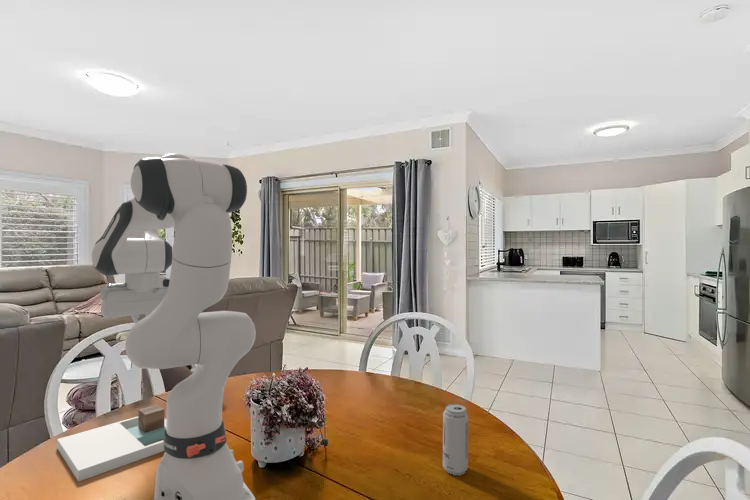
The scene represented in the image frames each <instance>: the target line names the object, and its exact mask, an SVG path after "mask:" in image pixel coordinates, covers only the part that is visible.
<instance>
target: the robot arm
mask: <svg viewBox="0 0 750 500" xmlns="http://www.w3.org/2000/svg"><path fill="white" fill-rule="evenodd" d="M130 188H131V191H132V195H133V196H134V197H133V198H131V199H130V200H127V201H124V202H122V203H121V205H120V206H119V207H118V208H117V210H116V211H115V213H114V215H113V216H112V218H111V220H110V222H109V224H108V225H107V227H106V229H105V230H104V232H103V234H102V235H101V237H100V238H99V239H98V240H97V241H96V242H95V244H94V246H93V249H92V252H91V263H92V266H93V268H94V269H95V270H96V271H97V272H99V273H100V274H102V275H104V276H105V277H106V276H108V277H109V276H119V275H124V283H123V282H122V283H121V282H120V283H109V284H106V285H105V286H102V288H101V290H100V298H101V300H102V301H101V304H100V305H101V307H100V315H101V316H102V317H104V318H105V319H106V318H107V319H110V318H112V319H113V318H120V317H128V316H131V319H132V321H133V322H134V325H133V326H132V327H131V328H130V330H129V332H128V334H127V336H126V339H125V344H124V345H125V353H126V356H127V358H128V360H129V361H130V362H131V363H132V364H133V365H134V366H135V368H137V369H147V370H149V369H150V370H151V369H153V370H165V369H171V368H172V369H173V368H178V367H180V368H181V367H184V366H185V367H186V366H191V365H197V366H195V367H196V369H195V371H194V372H193V373H192V374H191V375H190V374H189V375H188V376H187V377H186V378H185V379H183V380H181V381H180V382H178V383H177V384H176V385H175V386H173V388H172V389H171V390H170V391H169V393H168V394H167V395H168V396H167V398H166V419H167V424H166V430H165V432H164V438H163V439H162V440H163V443H164V450H165V451H164V454H163V456H162V457H161V460H160V461H159V463H158V464H157V466H156V472H155V483H154V485H155V486H154V498H153V499H152V500H256V497H255V495H254V494H253V492H252V491H251V489H249V487H248V486H247V484H246V483H245V482H244V477H243V474H242V473H243V472H244V470H245V465H244V462H243V460H238V461H237V460H236V459H235V455H234V454H235V453H234V449H230V448H229V446H228V444H227V439H228V438H227V436H228V435H227V434H226V430H227V429H226V427H225V424H224V421H223V400H224V391H225V386H226V383H227V380H228V378H229V376H230V374H231V373H232V371H233V369H234V367H235V366H236V364H237V363H238V362H239V361H240V360H241V359H242V358H243V357H244V356H246V355H247V354H248V353H249V352H250V350H251V349H252V347H253V345H254V343H255V341H256V337H257V335H256V334H257V331H256V326H255V323H254V321H253V319H252V318H251V317H250V316H249V315H248V314H247V313H246V312H241V311H234V310H233V311H232V310H216V311H206V312H204V310H206V309H208V308H210V307H211V306H213V305H215V304H217V303H218V302H220V301H221V300H222V299H223V298H224V296H225V295H226V293H227V292H228V288H229V280H230V273H231V264H232V253H233V231H232V228H233V227H232V220H231V216H230V215H229V213H231V212H232V213H233V212H236V211H239V210H240V209H242V207H243V206H244V204H245V202H246V200H247V196H248V195H247V194H248V183H247V181H246V177H245V175H244V174H243V172H242V171H241V170H240V169H239V168H237V167H235V166H232V165H230V164H225V163H223V164H218V163H213V162H209V161H201V160H196V159H193V158H192V159H191V158H190V157H188V156H187V155H184V154H180V153H167V154H165V155H163V156H161V157H159V156H153V157H152V156H151V157H145V158H140V159H139V160H137V162H136V163H135V165H134V167H133V170H132V173H131V176H130ZM171 228H174V229H175V230H174V237H173V243H172V244H173V245H171V244H170V242H168V241H166V239H162V238H160V236H159V235H160V234H159V230H163V229H165V230H166V229H171ZM169 268H170V276H169V277H166V276H163V275H162V276H161V275H160V274H161V272H165V271H167V270H168V269H169ZM140 315H144V316H145V317H143V318H141V319H140ZM138 319H139V320H138Z"/></svg>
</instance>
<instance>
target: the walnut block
mask: <svg viewBox="0 0 750 500" xmlns="http://www.w3.org/2000/svg"><path fill="white" fill-rule="evenodd" d="M137 412H138V413H137V415H138V427H139V428H140V429H141V430H142V431H143V432H145V433H146V432H149V431H153V430H156V429H159V428H162V427H164V418H165V408H164V407H162V406H160V405H159V404H154V405H150V406H147V407H146V406H145V407H143V408H139V409H138V411H137Z"/></svg>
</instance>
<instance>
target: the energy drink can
mask: <svg viewBox="0 0 750 500" xmlns="http://www.w3.org/2000/svg"><path fill="white" fill-rule="evenodd" d="M442 467H443V469H444V470H446V471H447V472H448V474H449V473H450V474H449V475H451V474H453V475H452V476H457V475H458V476H462V475H461V474H463V475H464V474H465V473H466V472H465V471H467V470H469V414H468V413H467V408H466V407H465V406H464V405H462V404H458V403H457V404H456V403H451V404H447V405H446V406H445V409H444V411H443V412H442ZM446 471H445V472H446ZM447 472H446V473H447Z"/></svg>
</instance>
